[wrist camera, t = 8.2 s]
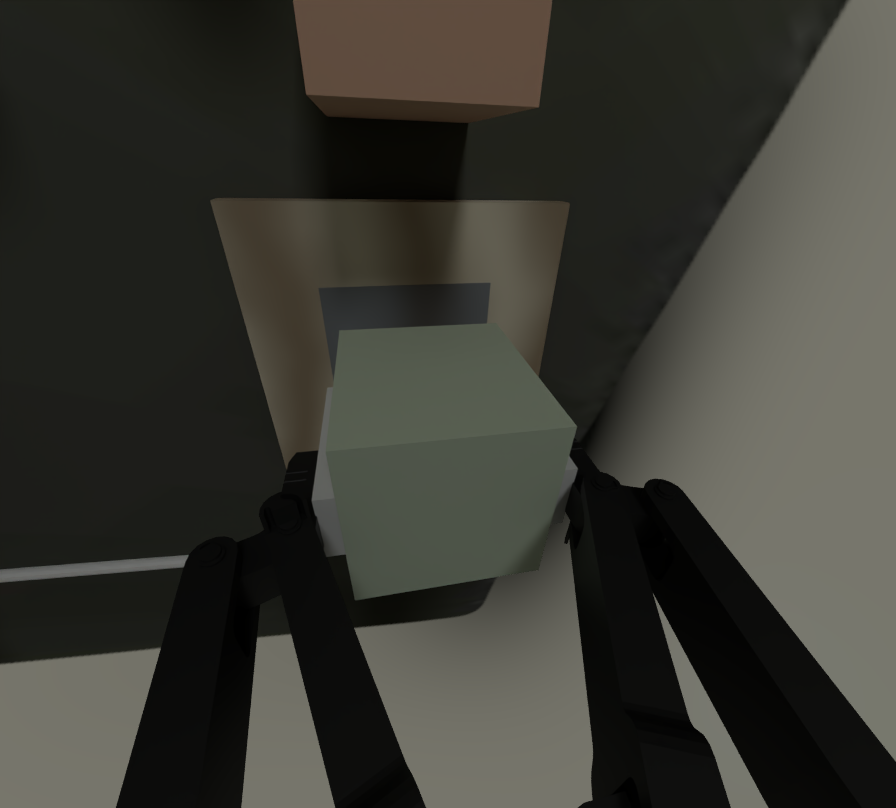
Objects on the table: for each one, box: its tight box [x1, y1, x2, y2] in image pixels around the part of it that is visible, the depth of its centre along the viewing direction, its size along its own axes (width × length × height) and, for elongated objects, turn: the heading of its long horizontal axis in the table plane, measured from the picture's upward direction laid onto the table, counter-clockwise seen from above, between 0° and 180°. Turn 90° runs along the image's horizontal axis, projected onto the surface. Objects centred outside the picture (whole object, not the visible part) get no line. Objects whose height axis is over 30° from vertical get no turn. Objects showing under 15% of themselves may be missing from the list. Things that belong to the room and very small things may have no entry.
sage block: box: [326, 323, 577, 600], centre depth 16 cm, size 7×7×8 cm
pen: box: [0, 555, 189, 582], centre depth 27 cm, size 1×19×1 cm, turn 82°
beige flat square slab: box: [210, 198, 570, 469], centre depth 22 cm, size 16×16×1 cm
